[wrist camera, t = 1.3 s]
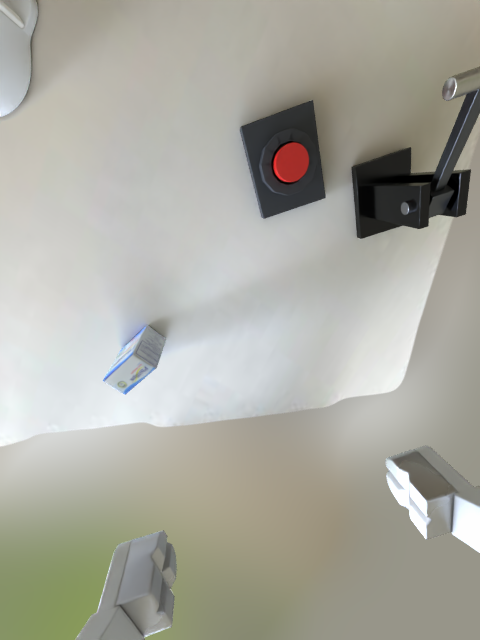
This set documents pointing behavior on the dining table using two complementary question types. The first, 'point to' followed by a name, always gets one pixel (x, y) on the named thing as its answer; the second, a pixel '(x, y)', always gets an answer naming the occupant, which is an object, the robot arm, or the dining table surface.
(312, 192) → the control block
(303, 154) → the button
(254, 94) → the dining table surface
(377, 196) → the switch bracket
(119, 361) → the medicine box
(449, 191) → the switch lever
